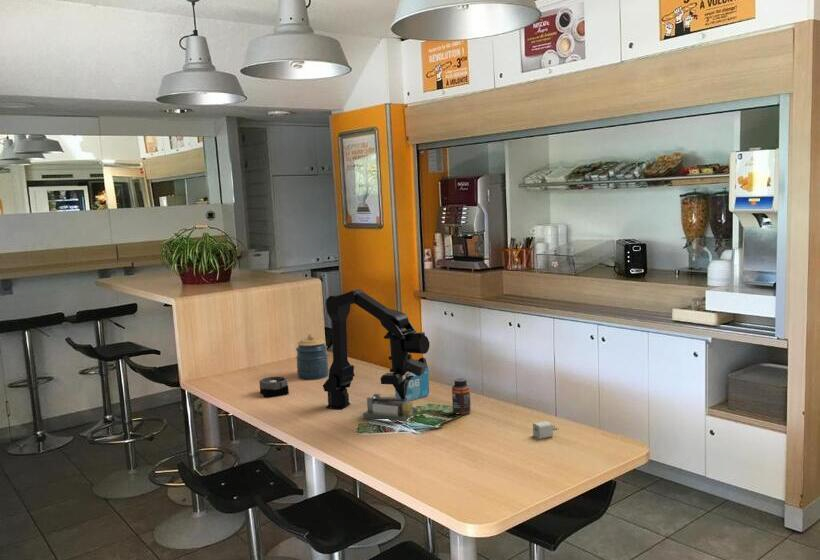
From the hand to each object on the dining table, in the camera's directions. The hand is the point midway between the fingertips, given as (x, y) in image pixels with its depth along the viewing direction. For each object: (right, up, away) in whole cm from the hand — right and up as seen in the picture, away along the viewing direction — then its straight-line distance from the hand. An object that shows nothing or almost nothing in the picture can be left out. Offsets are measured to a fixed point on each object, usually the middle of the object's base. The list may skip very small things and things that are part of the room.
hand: (403, 399), depth 232 cm
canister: (-38, -1, +61) cm, 72 cm away
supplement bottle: (+19, -5, +4) cm, 21 cm away
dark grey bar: (-5, -1, +3) cm, 6 cm away
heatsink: (-4, -6, +3) cm, 8 cm away
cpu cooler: (-49, -5, +37) cm, 62 cm away
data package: (+3, -4, +24) cm, 24 cm away
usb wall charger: (+43, -8, -21) cm, 48 cm away
